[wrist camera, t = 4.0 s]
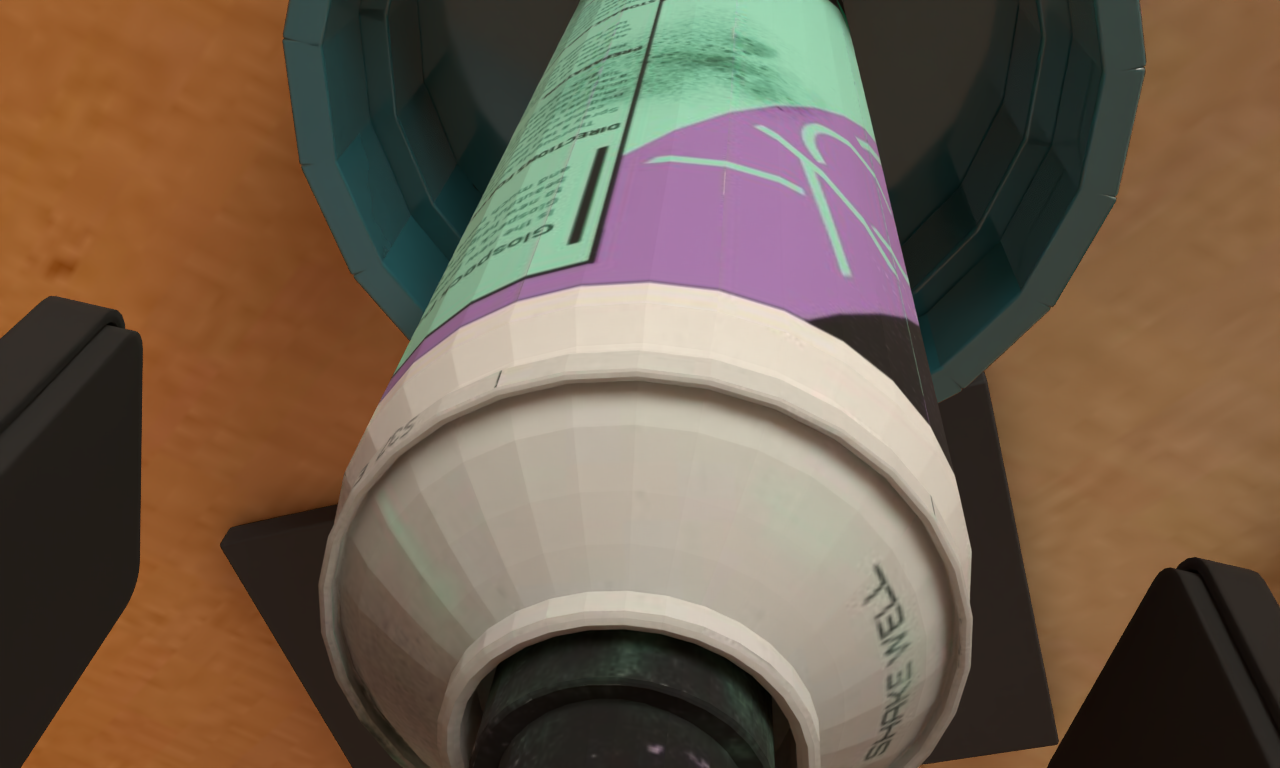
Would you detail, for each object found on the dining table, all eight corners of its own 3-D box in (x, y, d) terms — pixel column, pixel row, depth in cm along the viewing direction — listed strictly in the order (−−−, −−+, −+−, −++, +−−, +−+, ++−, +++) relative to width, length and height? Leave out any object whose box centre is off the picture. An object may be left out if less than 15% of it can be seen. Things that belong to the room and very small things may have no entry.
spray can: (702, 221, 27) (606, 1222, 10) (521, 37, 25) (22, 867, 8) (903, 52, 25) (1229, 966, 8) (720, -163, 23) (610, 400, 6)
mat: (229, 526, 33) (217, 544, 32) (981, 362, 29) (987, 380, 28) (402, 822, 39) (396, 843, 38) (1054, 723, 34) (1060, 745, 34)
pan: (246, -219, 23) (132, -189, 19) (1013, -502, 20) (1081, -542, 16) (509, 401, 30) (467, 526, 26) (1115, 262, 27) (1182, 378, 23)
